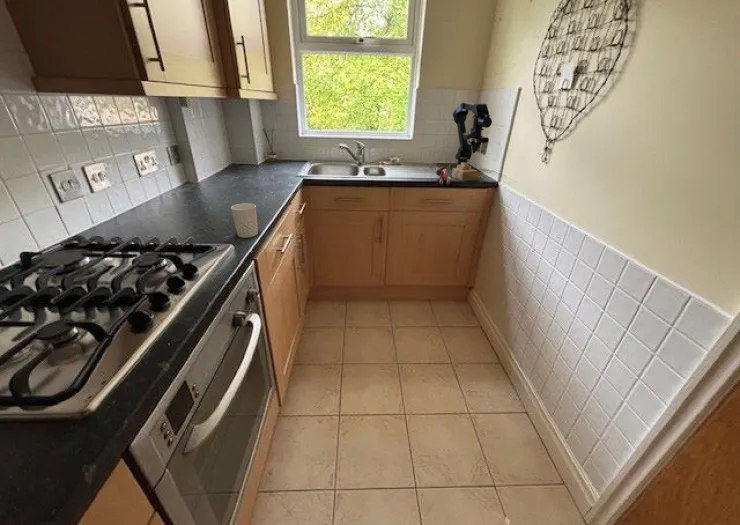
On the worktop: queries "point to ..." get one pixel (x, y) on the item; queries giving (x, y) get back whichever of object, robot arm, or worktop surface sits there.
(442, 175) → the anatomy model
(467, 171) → the tan stepped block
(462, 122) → the robot arm
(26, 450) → the worktop surface
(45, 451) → the worktop surface
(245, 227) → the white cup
